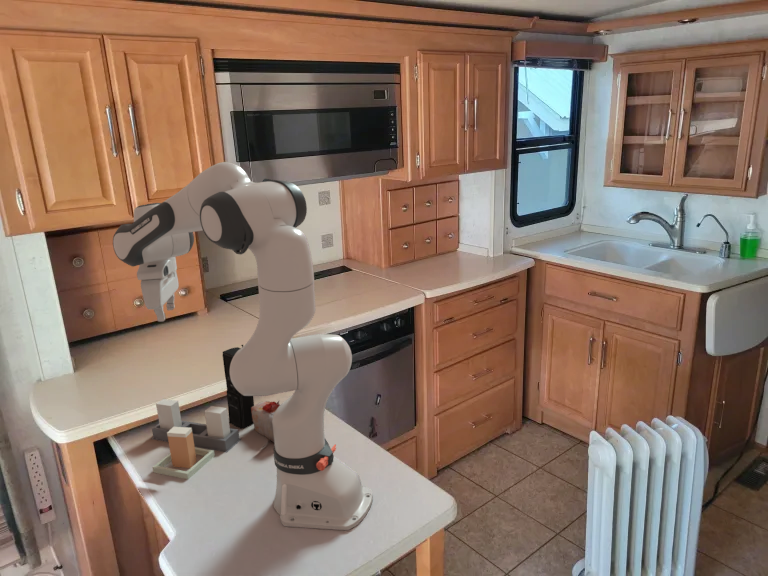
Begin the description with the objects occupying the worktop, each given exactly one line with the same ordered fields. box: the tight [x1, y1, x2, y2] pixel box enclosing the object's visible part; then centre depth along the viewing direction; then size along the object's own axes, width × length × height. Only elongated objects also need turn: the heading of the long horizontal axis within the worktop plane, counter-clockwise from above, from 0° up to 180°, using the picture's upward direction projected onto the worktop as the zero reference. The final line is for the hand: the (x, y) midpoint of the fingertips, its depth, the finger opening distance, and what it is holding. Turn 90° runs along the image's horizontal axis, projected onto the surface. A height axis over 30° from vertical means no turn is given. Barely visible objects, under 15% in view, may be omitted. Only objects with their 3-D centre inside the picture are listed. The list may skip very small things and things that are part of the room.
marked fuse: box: [167, 427, 198, 469], centre depth 143 cm, size 5×3×10 cm, turn 79°
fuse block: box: [150, 398, 242, 453], centre depth 155 cm, size 25×7×11 cm, turn 70°
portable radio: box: [222, 344, 255, 430], centre depth 161 cm, size 8×6×25 cm
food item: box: [251, 400, 281, 443], centre depth 157 cm, size 14×8×10 cm, turn 46°
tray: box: [152, 447, 216, 480], centre depth 144 cm, size 11×11×2 cm
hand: (166, 315), depth 152 cm, fingers open, 8 cm apart
